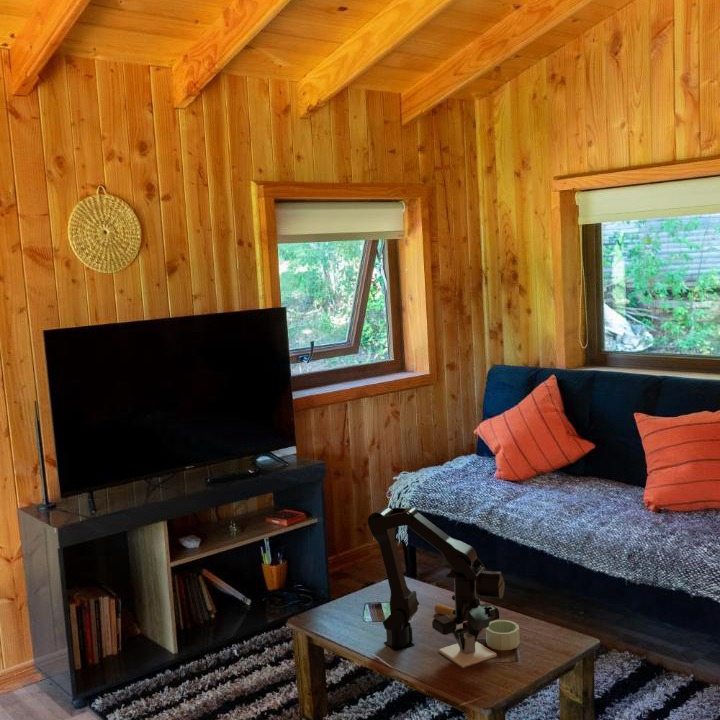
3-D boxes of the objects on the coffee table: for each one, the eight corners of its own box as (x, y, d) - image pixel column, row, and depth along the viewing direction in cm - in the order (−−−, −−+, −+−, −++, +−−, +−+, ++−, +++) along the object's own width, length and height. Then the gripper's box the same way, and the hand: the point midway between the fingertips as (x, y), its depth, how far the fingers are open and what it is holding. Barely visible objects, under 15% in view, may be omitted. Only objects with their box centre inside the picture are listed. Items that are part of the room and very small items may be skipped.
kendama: (428, 622, 272) (471, 631, 258) (427, 600, 272) (471, 609, 258) (446, 619, 277) (490, 628, 263) (446, 598, 277) (489, 606, 263)
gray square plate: (462, 669, 238) (462, 668, 238) (437, 653, 248) (436, 651, 248) (499, 657, 243) (498, 656, 243) (472, 641, 254) (472, 640, 254)
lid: (462, 667, 238) (462, 648, 238) (439, 651, 248) (438, 633, 247) (496, 656, 243) (495, 637, 243) (472, 641, 253) (471, 623, 252)
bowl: (500, 654, 245) (499, 636, 245) (480, 642, 253) (479, 625, 252) (526, 645, 250) (525, 628, 249) (505, 634, 257) (505, 617, 257)
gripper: (454, 611, 232) (456, 669, 234) (511, 594, 241) (513, 650, 243) (430, 597, 242) (432, 653, 244) (486, 582, 251) (488, 635, 253)
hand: (467, 648), depth 245 cm, fingers closed on lid, 3 cm apart
